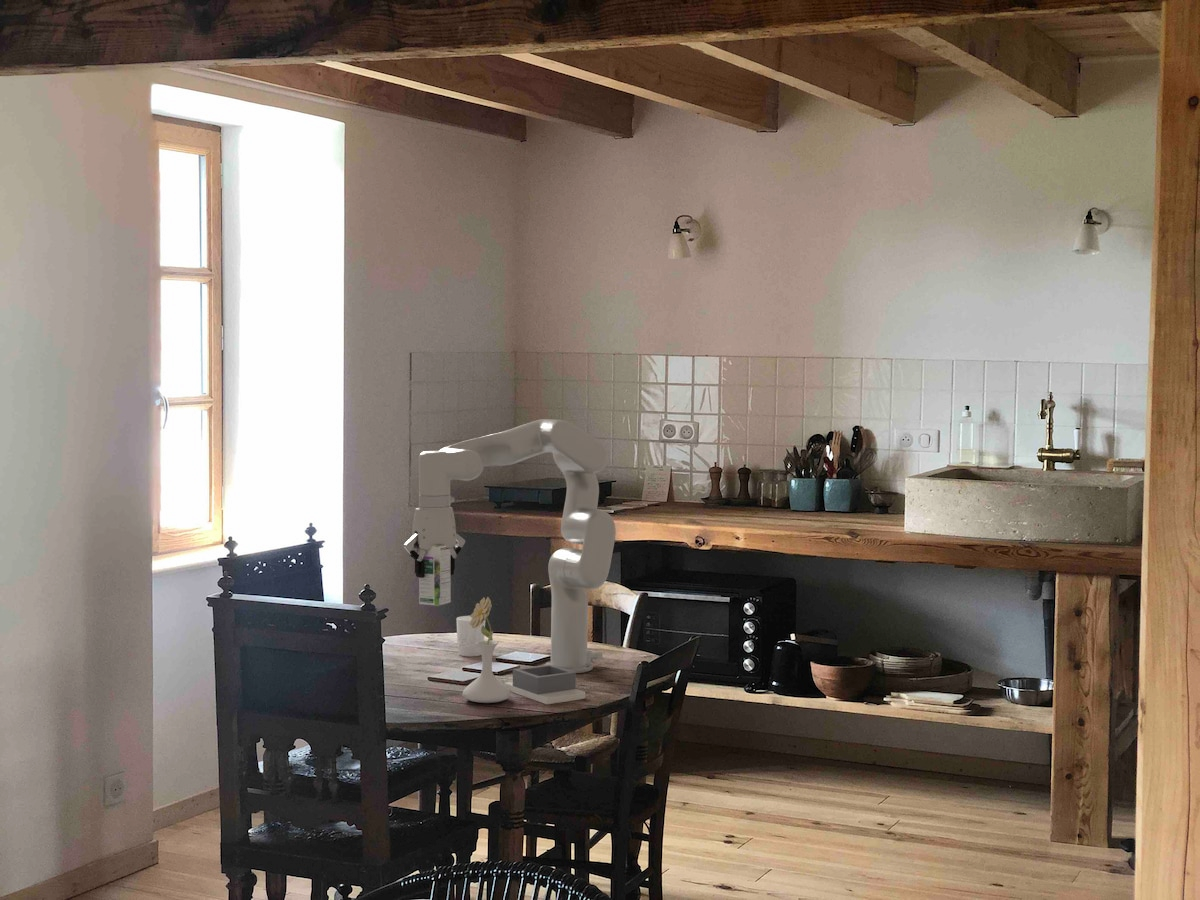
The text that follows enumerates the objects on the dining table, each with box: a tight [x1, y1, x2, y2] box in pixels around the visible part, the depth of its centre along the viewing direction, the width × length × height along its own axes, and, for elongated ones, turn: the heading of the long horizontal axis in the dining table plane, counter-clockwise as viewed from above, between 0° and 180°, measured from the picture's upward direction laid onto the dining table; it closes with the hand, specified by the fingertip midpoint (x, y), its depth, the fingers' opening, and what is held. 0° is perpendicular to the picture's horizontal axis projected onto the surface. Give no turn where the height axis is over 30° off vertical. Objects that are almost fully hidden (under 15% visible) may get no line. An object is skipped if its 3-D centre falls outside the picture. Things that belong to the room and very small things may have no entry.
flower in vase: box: [462, 596, 512, 704], centre depth 320 cm, size 13×11×25 cm
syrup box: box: [418, 544, 452, 607], centre depth 330 cm, size 6×6×14 cm
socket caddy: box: [503, 664, 586, 705], centre depth 330 cm, size 11×19×6 cm, turn 36°
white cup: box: [456, 615, 486, 658], centre depth 375 cm, size 8×8×10 cm
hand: (434, 575), depth 330 cm, fingers closed on syrup box, 7 cm apart
